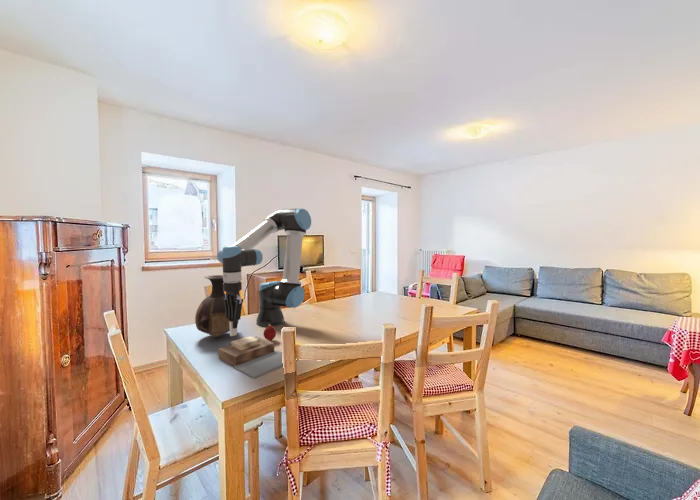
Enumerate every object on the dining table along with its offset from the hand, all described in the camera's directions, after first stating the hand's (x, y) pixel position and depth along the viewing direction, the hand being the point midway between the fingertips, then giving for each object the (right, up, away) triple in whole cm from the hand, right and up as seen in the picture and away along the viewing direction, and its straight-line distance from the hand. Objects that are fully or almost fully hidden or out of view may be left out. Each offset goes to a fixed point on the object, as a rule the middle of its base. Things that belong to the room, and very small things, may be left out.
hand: (233, 335), depth 134 cm
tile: (+7, -3, -5) cm, 9 cm away
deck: (+8, -7, -6) cm, 12 cm away
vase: (-14, -6, +17) cm, 22 cm away
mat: (+18, -7, -14) cm, 24 cm away
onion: (+13, -6, +10) cm, 18 cm away
